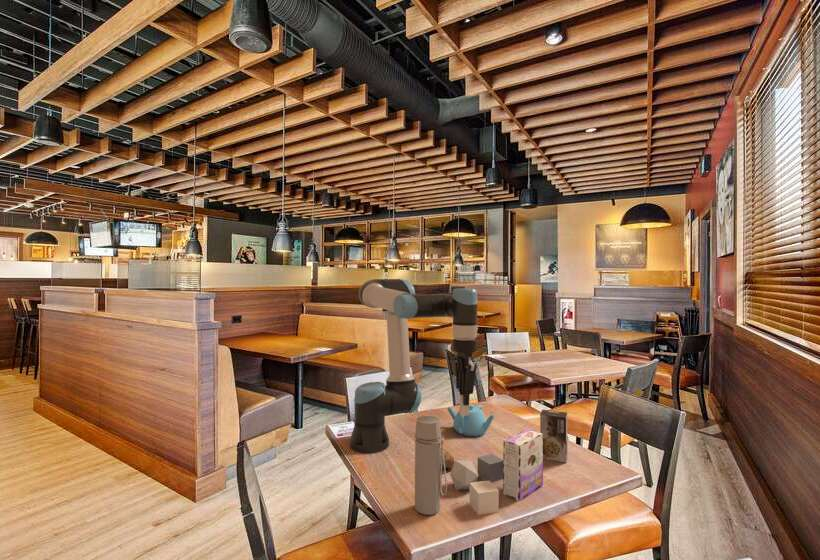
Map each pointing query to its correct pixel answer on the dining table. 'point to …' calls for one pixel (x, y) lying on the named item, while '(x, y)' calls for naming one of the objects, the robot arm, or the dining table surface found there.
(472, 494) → the cream block
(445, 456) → the bread roll
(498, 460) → the charcoal block
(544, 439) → the coffee box
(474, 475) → the die
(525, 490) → the candy box
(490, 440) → the dining table surface
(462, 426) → the teapot
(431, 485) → the water bottle
